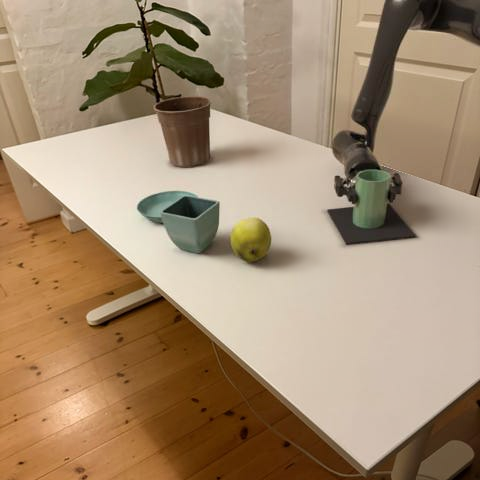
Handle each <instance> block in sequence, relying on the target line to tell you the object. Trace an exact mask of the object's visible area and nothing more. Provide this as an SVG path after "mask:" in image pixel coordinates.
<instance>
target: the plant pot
mask: <svg viewBox="0 0 480 480" xmlns="http://www.w3.org/2000/svg"><path fill="white" fill-rule="evenodd" d="M211 105H212V99H210V98H208V97H206V96H197V95H196V96H194V95H193V96H191V95H190V96H177V97H172V98H168V99H164V100H160V101H159V102H158V103H155V104H154V105H153V110H154V111H155V113H156V117H157V121H158V123H159V124H160V128H161V131H162V135H163V140H164V143H165V146H166V150H167V151H166V152H167V154H168V159H169V162H170V164H171V165H172V166H174V167H176V168H177V167H178V168H193V167H196V165H199V166H201V165H204V164H206V163H208V162H209V161H210V159H211V137H210V135H211V134H210V133H211V132H210V118H211Z"/></svg>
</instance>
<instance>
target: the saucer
mask: <svg viewBox="0 0 480 480" xmlns="http://www.w3.org/2000/svg"><path fill="white" fill-rule="evenodd" d="M184 195H188V196H193V197H199V196H198V195H197V194H195V193H193V192H190V191H187V190H186V191H184V190H168V191H160V192H156V193H153V194H150V195H147V196H146V197H144V198H142V199H141V200H139V202H138V203H137V204H136V210H137V212H138V213H139V214H140V215H141V216H142V217H144V218H146V219H147V220H149V221H151V222H154V223H158V224H159V223H160V224H164V223H163V220H162V217H161V214H160V212H161V211H162V210H163V209H165V208H166V207H168V206H169V205H171V204H172V203H174V202H175V201H177V200H178V199H179V198H181V197H182V196H184Z"/></svg>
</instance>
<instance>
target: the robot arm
mask: <svg viewBox="0 0 480 480" xmlns="http://www.w3.org/2000/svg"><path fill="white" fill-rule="evenodd" d="M408 31H414V32H415V31H420V32H421V31H423V32H434V33H442V34H449V35H452V36H455V37H457V38H459V39H461V40H463V41H465V42H467V43H469V44H470V45H472V46H475V47H477V48H480V0H384V3H383V6H382V10H381V15H380V19H379V24H378V27H377V31H376V35H375V39H374V44H373V47H372V52H371V55H370V59H369V63H368V67H367V70H366V73H365V76H364V79H363V82H362V85H361V87H360V90H359V92H358V95H357V98H356V101H355V103H354V105H353V108H352V111H351V113H350V114H351V115H350V118H351V120H352V121H353V122H354V123H355V124H357V125H359V126H361V127H362V128H363V129H365V132H364V133H361V132H357V131H354V130H350V129H341V130H340V131H338V132H337V133H336V134H335V135H334V137H333V139H332V143H331V152H332V155H333V157H334V158H335V159H336V160H337V162H339V164H341V165H343V170H344V172H343V173H344V176H345V177H346V178H343V177H341V176H340V175H338V174H337V175H334V178H333V179H334V180H333V188H334V191H335V194H336V197H338V198H342V197H344V196H345V197H346V199H347V201H348V202H349V203H351V205H354V204H356V192H355V183H356V175H357V173H359V172H360V171H364V170H372V169H373V170H382V167H381V165H380V164H379V161H378V159H377V157H376V156H375V154H374V151H375V143H376V136H377V131H378V127H379V123H380V121H381V117H382V115H383V113H384V111H385V108H386V106H387V104H388V101H389V99H390V96H391V93H392V89H393V85H394V75H395V66H396V60H397V56H398V52H399V50H400V47H401V45H402V43H403V40H404V38H405V37H406V34H407V33H408ZM401 177H402V176H401V175H400V173H398V172H393V174H392V175H391V177H390V185H389V193H388V200H387V202H388V203H389V204H392V203H394V201H396V200H397V196H400V195H401V194H402V188H403V180H402V178H401ZM345 185H346V186H345Z"/></svg>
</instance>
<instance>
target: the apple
mask: <svg viewBox="0 0 480 480" xmlns="http://www.w3.org/2000/svg"><path fill="white" fill-rule="evenodd" d="M230 245H231V248H232V251H233V252H234V255H236V257H237V258H238V259H240V260H241V261H245V262H247V263H251V262H256V261H258V260H260V259H262V258H263V257H265V256H266V255H267V253H268V252H269V251H270V248H271V245H272V234H271V230H270V228H269V226H268V225H267V223H266V222H265V221H264V220H262V219H261V218H259V217H248V218H244V219H242V220H240V221H239V222H238V223H236V224H235V225H234V227H233V228H232V231H231V234H230Z"/></svg>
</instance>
